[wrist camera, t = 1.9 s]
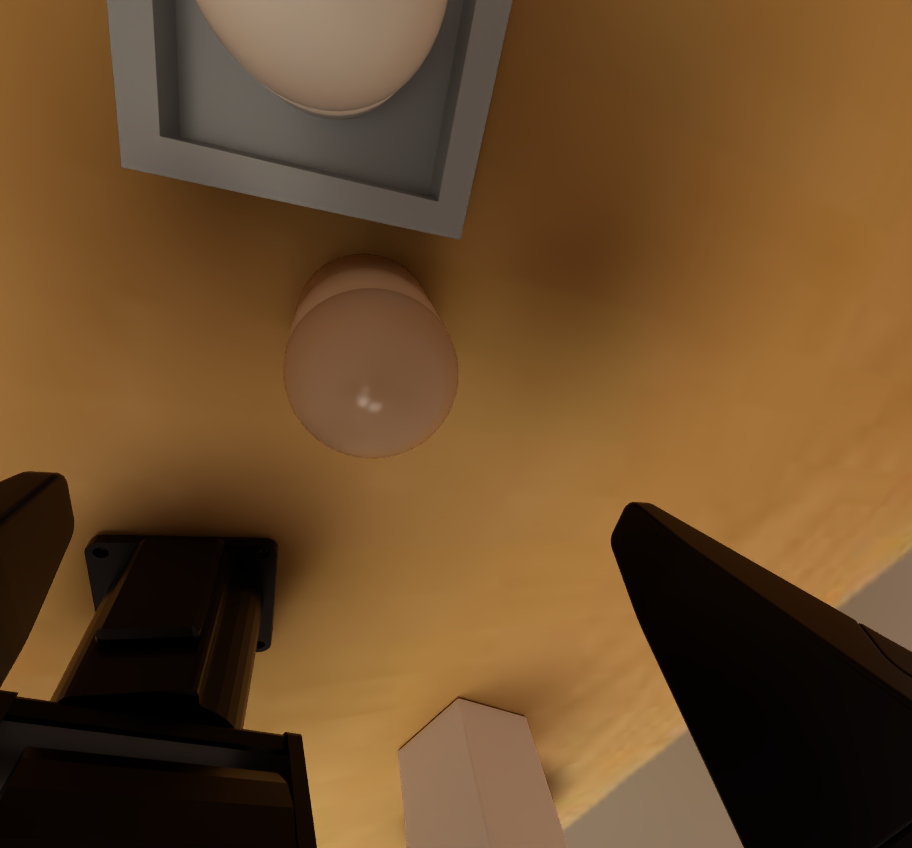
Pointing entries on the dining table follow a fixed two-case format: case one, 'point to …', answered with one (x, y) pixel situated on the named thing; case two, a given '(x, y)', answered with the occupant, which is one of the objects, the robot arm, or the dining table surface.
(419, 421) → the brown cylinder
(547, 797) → the milk
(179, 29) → the grey flat rectangular tray
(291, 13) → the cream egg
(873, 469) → the dining table surface
